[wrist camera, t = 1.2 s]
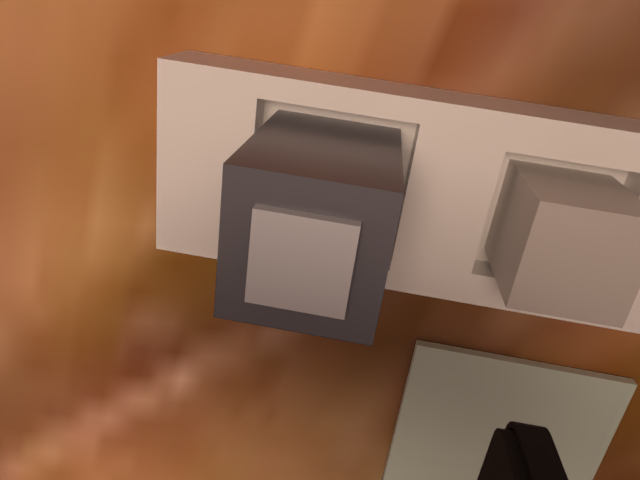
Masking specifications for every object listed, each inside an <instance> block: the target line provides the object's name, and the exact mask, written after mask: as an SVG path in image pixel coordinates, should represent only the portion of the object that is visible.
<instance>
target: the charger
mask: <svg viewBox="0 0 640 480" xmlns="http://www.w3.org/2000/svg"><path fill="white" fill-rule="evenodd" d="M403 198H404V177H403V160H402V143H401V129H399V128H393V127H386V126H380V125H374V124H368V123H361V122H355V121H349V120H342V119H336V118H330V117H324V116H317V115H311V114H305V113H299V112H292V111H286V110H280V109H278V110H277V111H276V112H275V113H274V114H273V115H272V116H271V117H270V118H269V119H268V120H267V121H266V122H265V123H264V124H263V125H262V126H261V127H260V128H259V129H258V130H257V131H256V132H255V133H254V134H253V135H252V136H251V137H250V138H249V139H248V140H247V141H246V142H245V143H244V144H243V145H242V146H241V147H239V148H238V149H237V150H236V151H235V152H234V153H233V154H232V155H231V156H230V157H229V158H228V159H227V160H226V161H225V162H224V163H223V173H222V190H221V207H220V223H219V240H218V257H217V274H216V290H215V307H214V317H216V318H222V319H227V320H233V321H238V322H244V323H249V324H254V325H260V326H265V327H271V328H276V329H282V330H287V331H293V332H298V333H304V334H309V335H315V336H320V337H326V338H331V339H337V340H342V341H348V342H353V343H358V344H364V345H369V346H373V341H374V337H375V332H376V327H377V322H378V318H379V313H380V308H381V303H382V298H383V294H384V289H385V284H386V279H387V275H388V270H389V265H390V260H391V255H392V251H393V246H394V241H395V236H396V232H397V227H398V222H399V217H400V213H401V208H402V203H403Z"/></svg>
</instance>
